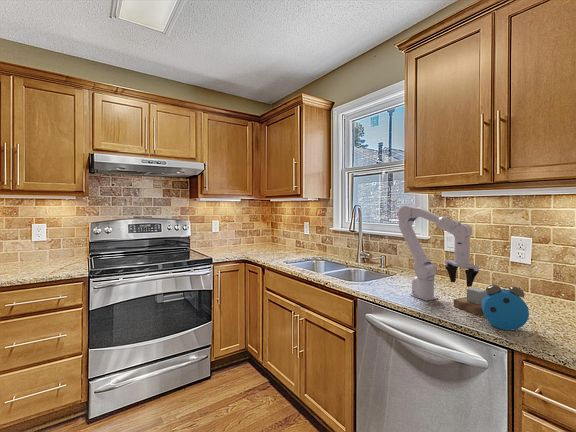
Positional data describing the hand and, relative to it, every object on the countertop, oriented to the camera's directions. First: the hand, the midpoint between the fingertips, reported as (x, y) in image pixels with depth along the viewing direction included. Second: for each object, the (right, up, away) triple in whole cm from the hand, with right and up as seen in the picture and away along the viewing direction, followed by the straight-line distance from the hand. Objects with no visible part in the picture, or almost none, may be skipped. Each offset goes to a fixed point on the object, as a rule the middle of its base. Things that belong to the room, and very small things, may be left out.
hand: (460, 284), depth 133 cm
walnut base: (+5, -9, -3) cm, 11 cm away
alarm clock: (+2, -11, -23) cm, 25 cm away
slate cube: (+4, -6, -4) cm, 9 cm away
